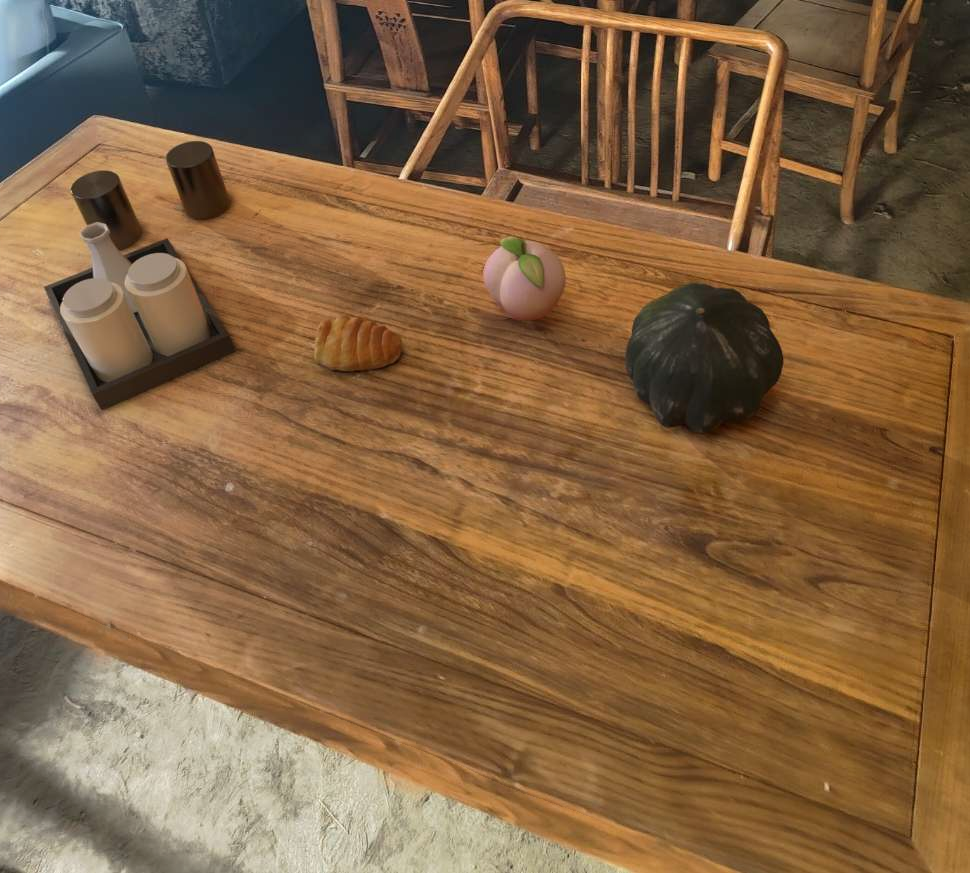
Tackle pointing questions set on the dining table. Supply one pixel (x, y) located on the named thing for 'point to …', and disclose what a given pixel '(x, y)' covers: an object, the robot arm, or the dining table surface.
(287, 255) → the dining table surface
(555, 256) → the decorative fruit
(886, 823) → the dining table surface
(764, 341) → the squash
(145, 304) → the white shaker
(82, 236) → the flask
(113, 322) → the cylinder
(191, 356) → the black tray
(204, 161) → the dark brown cylinder
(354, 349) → the pastry
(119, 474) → the dining table surface
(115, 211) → the dark brown cylinder
